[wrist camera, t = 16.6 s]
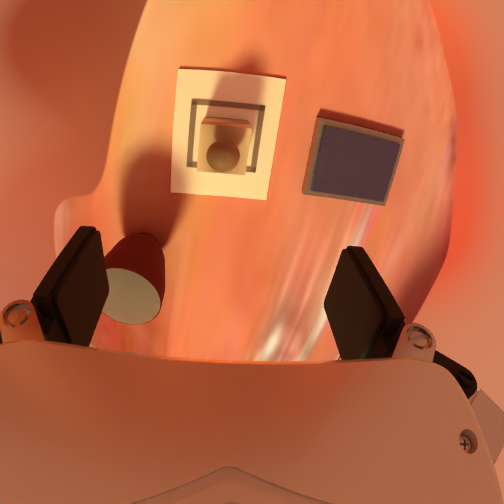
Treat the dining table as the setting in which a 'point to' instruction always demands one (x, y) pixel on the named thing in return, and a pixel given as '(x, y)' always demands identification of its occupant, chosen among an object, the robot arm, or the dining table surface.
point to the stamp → (223, 145)
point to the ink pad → (351, 162)
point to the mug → (135, 279)
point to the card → (225, 106)
